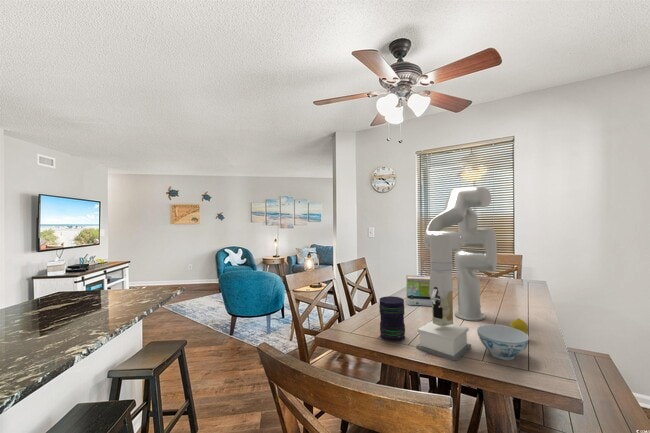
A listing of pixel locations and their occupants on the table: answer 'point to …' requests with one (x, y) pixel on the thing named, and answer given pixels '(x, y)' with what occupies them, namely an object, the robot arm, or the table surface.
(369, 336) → the table surface
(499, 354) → the chinaware
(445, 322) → the skincare box
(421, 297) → the tea box
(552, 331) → the table surface
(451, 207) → the robot arm
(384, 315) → the dark blue barrel
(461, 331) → the display podium
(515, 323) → the lemon
